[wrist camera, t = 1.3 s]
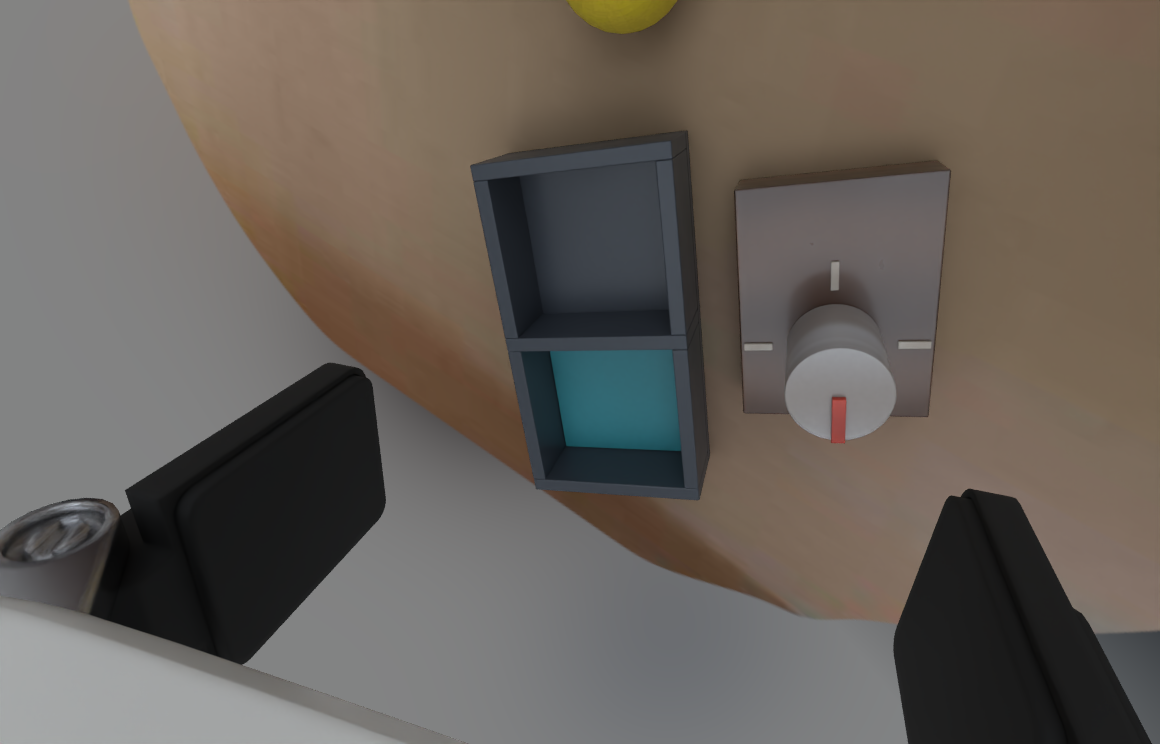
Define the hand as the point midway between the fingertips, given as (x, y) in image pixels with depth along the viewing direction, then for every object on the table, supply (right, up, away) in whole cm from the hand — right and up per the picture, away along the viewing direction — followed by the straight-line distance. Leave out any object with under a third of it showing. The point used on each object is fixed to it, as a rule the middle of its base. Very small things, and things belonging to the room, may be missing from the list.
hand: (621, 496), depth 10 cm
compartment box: (+1, +6, +27) cm, 28 cm away
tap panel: (+13, +6, +23) cm, 27 cm away
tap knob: (+12, +3, +21) cm, 24 cm away
